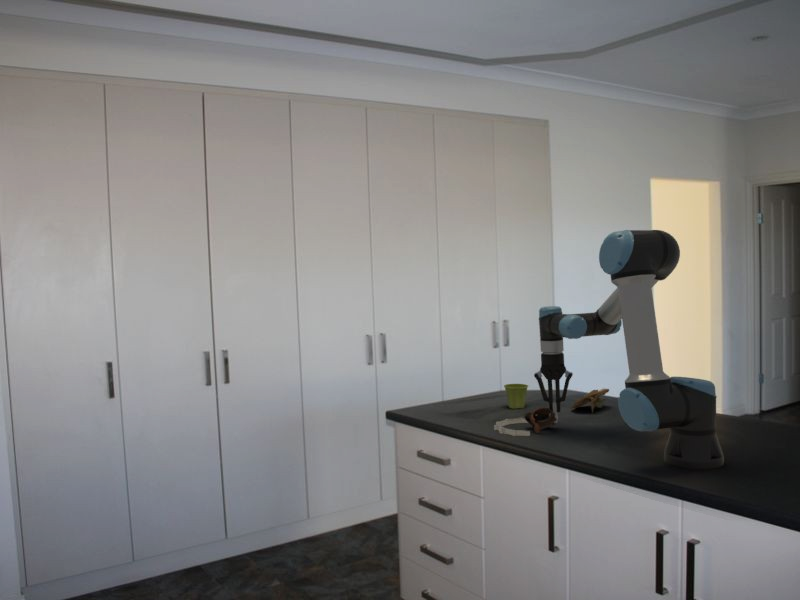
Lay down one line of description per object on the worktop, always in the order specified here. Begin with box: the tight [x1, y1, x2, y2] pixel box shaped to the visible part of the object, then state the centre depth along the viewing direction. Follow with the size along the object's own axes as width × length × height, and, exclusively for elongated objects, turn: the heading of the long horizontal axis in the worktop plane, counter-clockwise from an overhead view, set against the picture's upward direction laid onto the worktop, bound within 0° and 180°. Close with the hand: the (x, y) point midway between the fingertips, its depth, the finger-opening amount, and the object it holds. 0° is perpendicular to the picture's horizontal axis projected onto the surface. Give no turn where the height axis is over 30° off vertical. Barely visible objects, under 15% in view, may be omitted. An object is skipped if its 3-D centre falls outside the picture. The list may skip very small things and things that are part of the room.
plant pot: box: [503, 383, 529, 410], centre depth 264 cm, size 9×9×9 cm
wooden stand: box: [570, 387, 610, 414], centre depth 253 cm, size 18×14×8 cm
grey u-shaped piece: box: [493, 417, 531, 437], centre depth 231 cm, size 21×13×2 cm, turn 163°
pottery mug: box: [524, 406, 558, 434], centre depth 226 cm, size 12×9×8 cm
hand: (555, 421), depth 228 cm, fingers closed
